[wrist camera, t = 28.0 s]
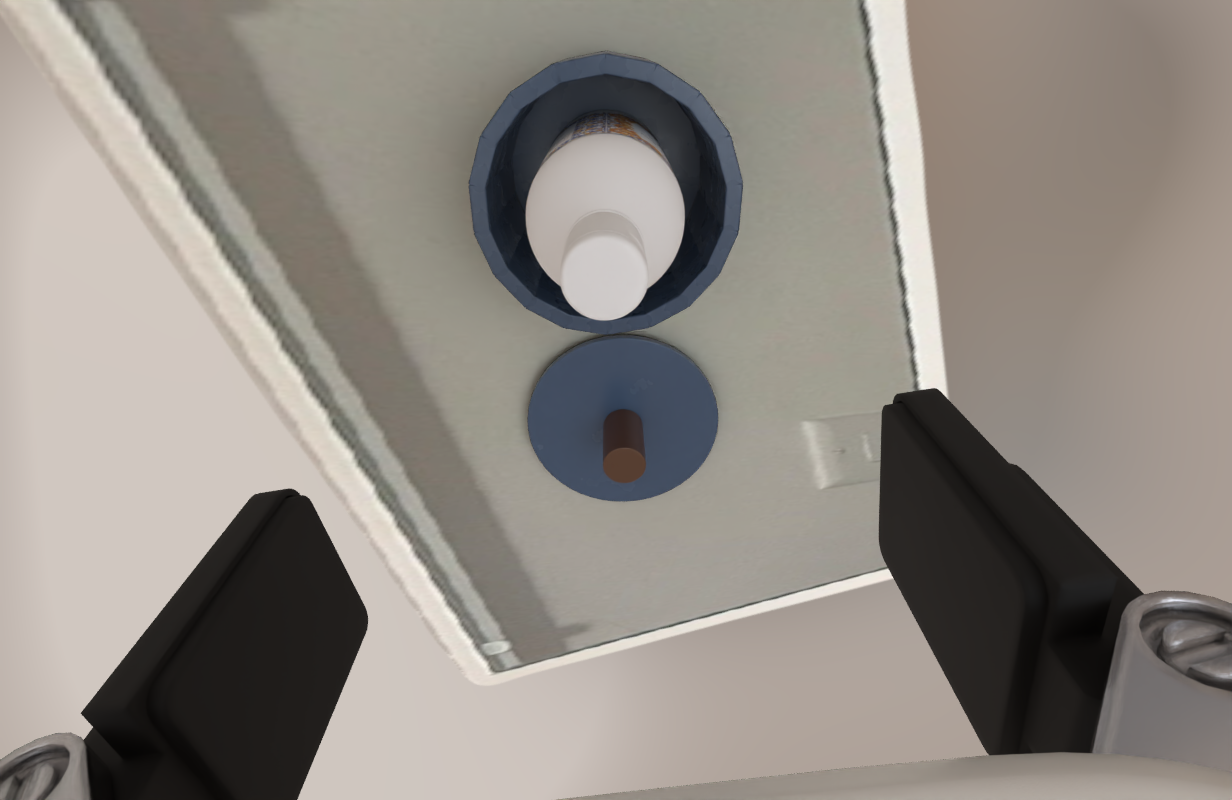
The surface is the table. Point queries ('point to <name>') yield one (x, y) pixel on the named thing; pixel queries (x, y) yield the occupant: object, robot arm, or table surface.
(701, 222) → the tin
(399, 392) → the table surface
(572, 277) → the bath foam
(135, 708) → the robot arm
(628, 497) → the tin lid
